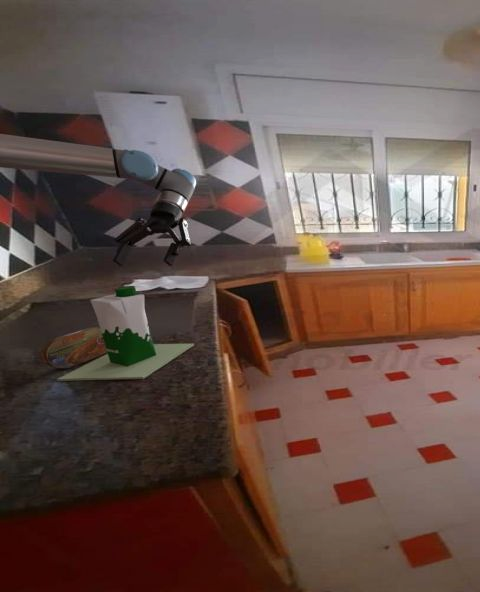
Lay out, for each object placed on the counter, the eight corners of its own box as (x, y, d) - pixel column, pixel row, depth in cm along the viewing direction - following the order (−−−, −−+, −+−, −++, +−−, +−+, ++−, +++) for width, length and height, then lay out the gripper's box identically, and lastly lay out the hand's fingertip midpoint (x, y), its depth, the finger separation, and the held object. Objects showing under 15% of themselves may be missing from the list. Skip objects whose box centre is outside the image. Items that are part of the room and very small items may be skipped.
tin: (53, 374, 80) (42, 344, 78) (43, 373, 81) (33, 343, 79) (118, 349, 95) (110, 323, 92) (109, 348, 95) (102, 322, 93)
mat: (57, 381, 77) (57, 378, 77) (126, 346, 97) (125, 344, 96) (143, 379, 79) (143, 376, 79) (194, 345, 98) (194, 343, 98)
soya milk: (162, 354, 91) (146, 287, 85) (125, 368, 82) (105, 295, 77) (141, 349, 93) (124, 284, 88) (103, 363, 85) (82, 292, 79)
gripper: (215, 217, 105) (195, 270, 95) (136, 216, 104) (107, 270, 93) (203, 200, 99) (180, 255, 89) (118, 199, 97) (85, 255, 87)
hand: (142, 263), depth 91 cm, fingers open, 13 cm apart
